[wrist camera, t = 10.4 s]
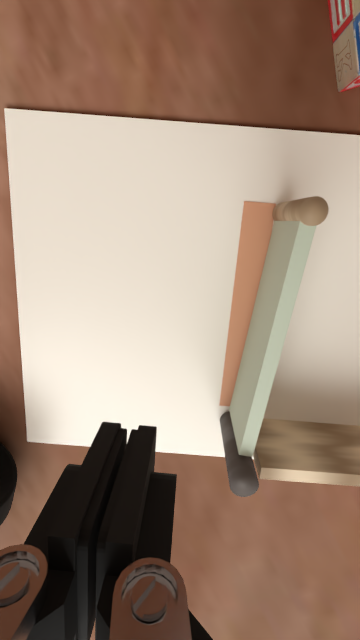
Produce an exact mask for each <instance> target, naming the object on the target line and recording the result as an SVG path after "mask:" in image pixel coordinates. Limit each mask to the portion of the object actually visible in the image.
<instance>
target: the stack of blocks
mask: <svg viewBox="0 0 360 640" xmlns="http://www.w3.org/2000/svg"><path fill="white" fill-rule="evenodd" d="M328 6H329V14H330V23H331V31H332V39H333V51H334V60H335V69H336V77H337V85H338V91H339V92H343V91H346V90H349V89H352V88H355V87H358V86H360V0H328Z"/></svg>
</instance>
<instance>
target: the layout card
mask: <svg viewBox="0 0 360 640" xmlns="http://www.w3.org/2000/svg"><path fill="white" fill-rule="evenodd" d="M4 110H5V124H6V139H7V153H8V168H9V182H10V197H11V212H12V226H13V241H14V255H15V270H16V284H17V299H18V313H19V328H20V342H21V357H22V372H23V386H24V401H25V415H26V430H27V442H38V443H51V444H64V445H77V446H90V447H91V444H92V442H93V440H94V438H95V436H96V434H97V432H98V430H99V428H100V426H101V424H102V422H112V423H121V428H124V429H127V442H128V439H129V436H130V433H131V430H132V429H135V430H138V427H139V425H145V426H155V427H157V434H156V449H155V452H167V453H180V454H193V455H206V456H219V457H225V452H224V446H223V439H222V433H221V427H220V417H221V416H222V414H224V413H225V412H228V411H229V408H230V404H231V399H232V395H233V391H234V387H235V383H236V379H237V375H238V370H239V366H240V362H241V358H242V354H243V350H244V346H245V341H246V337H247V333H248V329H249V325H250V321H251V317H252V312H253V308H254V304H255V300H256V296H257V292H258V287H259V283H260V279H261V275H262V271H263V267H264V263H265V258H266V254H267V250H268V246H269V242H270V238H271V234H272V229H273V225H274V219H273V216H272V213H273V209H274V208H275V206H276V205H277V204H279V203H282V202H287V201H292V200H297V199H302V198H307V197H313V196H319V197H322V198H323V199H324V200H325V201H326V202H327V204H328V208H329V211H328V215H327V217H326V219H325V220H324V221H323V222H322V223H321V224H319V225H317V226H316V230H315V233H314V237H313V240H312V244H311V248H310V251H309V255H308V258H307V262H306V266H305V269H304V273H303V276H302V280H301V284H300V287H299V291H298V294H297V298H296V302H295V305H294V309H293V312H292V316H291V320H290V323H289V327H288V331H287V334H286V338H285V341H284V345H283V349H282V352H281V356H280V359H279V363H278V367H277V370H276V374H275V377H274V381H273V385H272V388H271V392H270V395H269V399H268V403H267V406H266V410H265V413H264V417H263V418H265V419H278V420H291V421H304V422H317V423H330V424H343V425H355V426H360V135H350V134H337V133H324V132H311V131H298V130H284V129H271V128H258V127H245V126H232V125H219V124H205V123H192V122H179V121H166V120H153V119H139V118H126V117H113V116H100V115H87V114H74V113H60V112H47V111H34V110H21V109H8V108H4ZM252 459H254V457H252Z"/></svg>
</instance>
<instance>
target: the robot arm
mask: <svg viewBox="0 0 360 640" xmlns="http://www.w3.org/2000/svg"><path fill="white" fill-rule="evenodd" d="M156 434H157V427H155V426H145V425H139V427H138V430H135V429H132V430H131V433H130V436H129V439H128V442H127V429H124V428H121V423H112V422H102V424H101V426H100V428H99V430H98V432H97V434H96V436H95V438H94V440H93V442H92V444H91V447H90V449H89V451H88V453H87V455H86V457H85V459H84V461H83V463H82V465H74V464H69V465H67V466H66V468H65V469H64V471H63V473H62V475H61V477H60V478H59V480H58V482H57V484H56V486H55V488H54V489H53V491H52V493H51V495H50V497H49V499H48V500H47V502H46V504H45V506H44V508H43V510H42V512H41V513H40V515H39V517H38V519H37V521H36V523H35V524H34V526H33V528H32V530H31V532H30V534H29V535H28V537H27V539H26V541H25V543H24V545H23V544H20V545H14V546H9V547H7V548H4V549H2V550H0V640H90V637H91V634H92V630H93V626H94V622H95V618H96V625H95V640H213V639H212V638H211V637H210V635H209V634H208V633H207V632H206V630H205V629H204V628H203V627H202V625H201V624H200V623H199V622H198V621H197V619H196V618H195V617H194V616H193V614H192V613H191V612H190V611H189V609H188V603H187V594H186V588H185V584H184V581H183V578H182V577H181V575H180V573H179V572H178V570H177V569H176V568H175V567H174V566H172V565H171V564H170V557H171V544H172V531H173V517H174V504H175V491H176V478H177V474H167V473H157V472H154V464H155V449H156Z"/></svg>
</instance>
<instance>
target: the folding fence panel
mask: <svg viewBox="0 0 360 640" xmlns="http://www.w3.org/2000/svg"><path fill="white" fill-rule="evenodd" d="M328 211H329V208H328V204H327V202H326V201H325V200H324V199H323V198H322V197H319V196H313V197H307V198H302V199H297V200H292V201H287V202H282V203H279V204H277V205H276V206H275V208H274V209H273V213H272V216H273V219H274V225H273V229H272V234H271V238H270V242H269V246H268V250H267V254H266V258H265V263H264V267H263V271H262V275H261V279H260V283H259V287H258V292H257V296H256V300H255V304H254V308H253V312H252V317H251V321H250V325H249V329H248V333H247V337H246V341H245V346H244V350H243V354H242V358H241V362H240V366H239V370H238V375H237V379H236V383H235V387H234V391H233V395H232V399H231V404H230V408H229V412H230V416H231V421H232V425H233V430H234V435H235V439H236V444H237V449H238V453H239V455H243V456H250V457H253V453H254V450H255V446H256V442H257V439H258V435H259V432H260V428H261V424H262V421H263V417H264V413H265V410H266V406H267V403H268V399H269V395H270V392H271V388H272V385H273V381H274V377H275V374H276V370H277V367H278V363H279V359H280V356H281V352H282V349H283V345H284V341H285V338H286V334H287V331H288V327H289V323H290V320H291V316H292V312H293V309H294V305H295V302H296V298H297V294H298V291H299V287H300V284H301V280H302V276H303V273H304V269H305V266H306V262H307V258H308V255H309V251H310V248H311V244H312V240H313V237H314V233H315V230H316V226H317V225H319V224H321V223H322V222H323V221H324V220H325V219H326V217H327V215H328Z"/></svg>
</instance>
